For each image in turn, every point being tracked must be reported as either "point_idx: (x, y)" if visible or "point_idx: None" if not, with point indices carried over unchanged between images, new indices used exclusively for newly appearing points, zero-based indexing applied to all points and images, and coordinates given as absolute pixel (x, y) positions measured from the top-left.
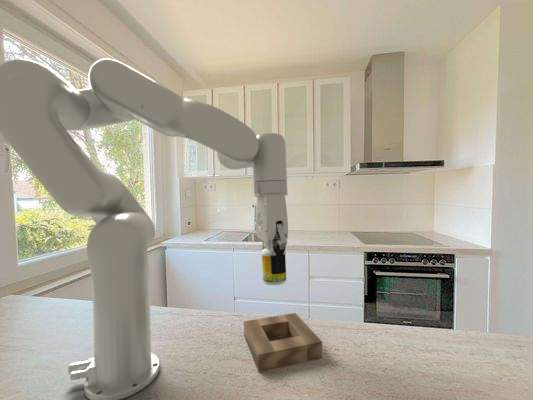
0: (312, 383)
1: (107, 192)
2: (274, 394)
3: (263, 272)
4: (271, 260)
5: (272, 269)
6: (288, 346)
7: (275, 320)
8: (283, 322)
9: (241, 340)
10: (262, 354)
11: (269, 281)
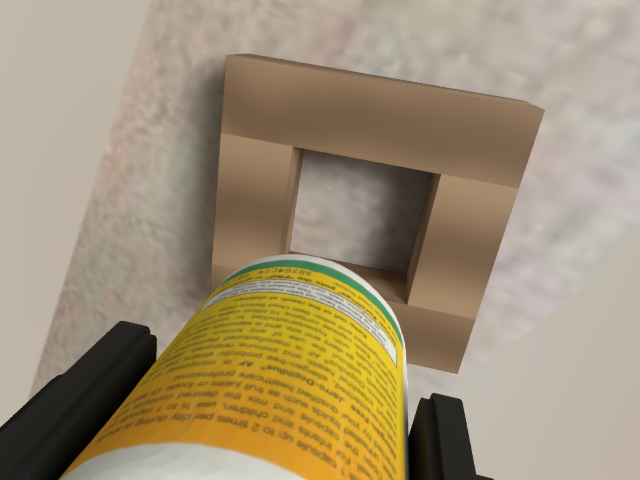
0: (140, 191)
1: None
2: (136, 59)
3: (285, 296)
4: (16, 419)
5: (97, 351)
6: (227, 196)
7: (447, 260)
8: (413, 282)
9: (491, 72)
10: (226, 75)
11: (228, 280)
